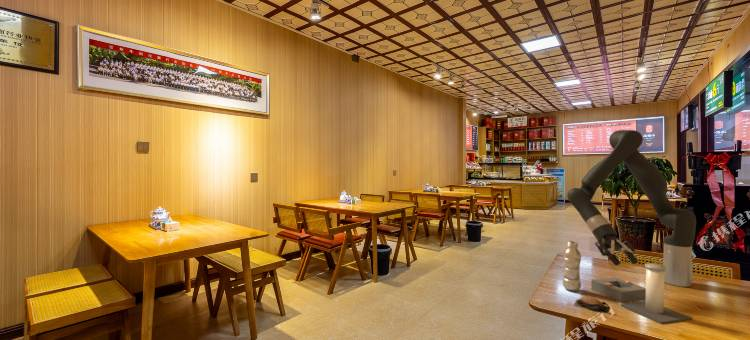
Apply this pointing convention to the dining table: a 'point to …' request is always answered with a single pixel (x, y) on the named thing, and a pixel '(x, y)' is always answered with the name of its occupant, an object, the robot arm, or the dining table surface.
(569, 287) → the plastic bottle
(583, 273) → the dining table surface
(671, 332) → the dining table surface
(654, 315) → the rubber mat
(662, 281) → the cylinder
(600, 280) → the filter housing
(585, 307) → the dark brown curved piece
